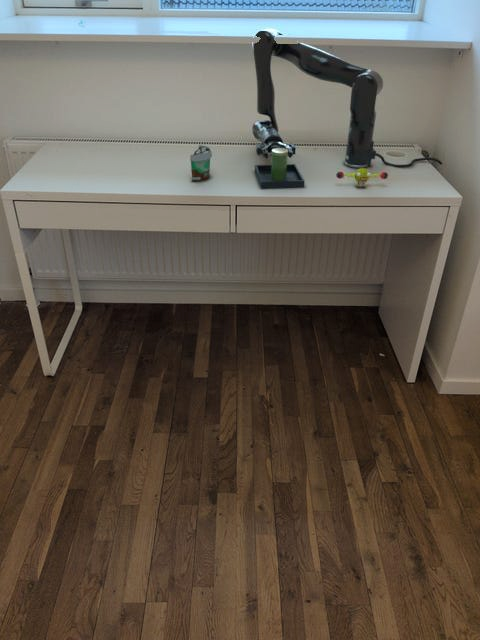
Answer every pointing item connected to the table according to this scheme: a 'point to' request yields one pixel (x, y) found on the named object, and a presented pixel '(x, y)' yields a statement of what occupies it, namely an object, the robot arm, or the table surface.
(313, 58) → the robot arm
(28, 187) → the table surface
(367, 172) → the toy figure
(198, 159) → the food container
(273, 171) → the green cup
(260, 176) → the dark grey shallow tray
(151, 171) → the table surface
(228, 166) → the table surface
